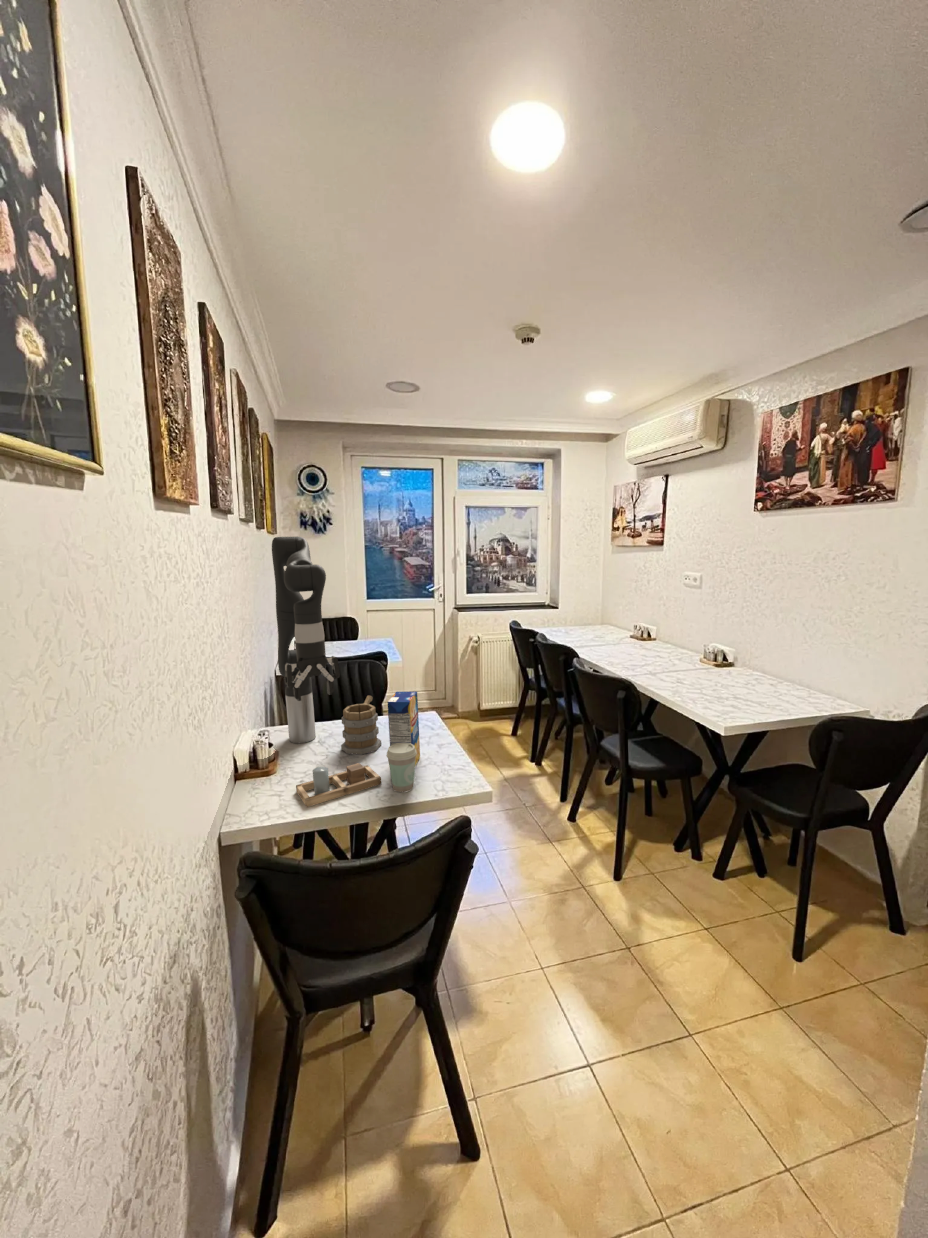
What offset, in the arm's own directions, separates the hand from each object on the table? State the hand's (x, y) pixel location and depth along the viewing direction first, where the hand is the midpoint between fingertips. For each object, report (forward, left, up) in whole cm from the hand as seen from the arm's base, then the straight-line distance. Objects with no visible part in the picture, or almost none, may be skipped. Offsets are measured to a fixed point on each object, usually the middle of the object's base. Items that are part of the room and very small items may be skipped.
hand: (314, 697), depth 135 cm
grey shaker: (0, 0, -28) cm, 28 cm away
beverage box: (-3, +28, -28) cm, 40 cm away
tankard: (-27, +24, -28) cm, 46 cm away
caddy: (0, +5, -28) cm, 29 cm away
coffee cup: (+11, +20, -28) cm, 36 cm away
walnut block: (0, +10, -28) cm, 30 cm away
